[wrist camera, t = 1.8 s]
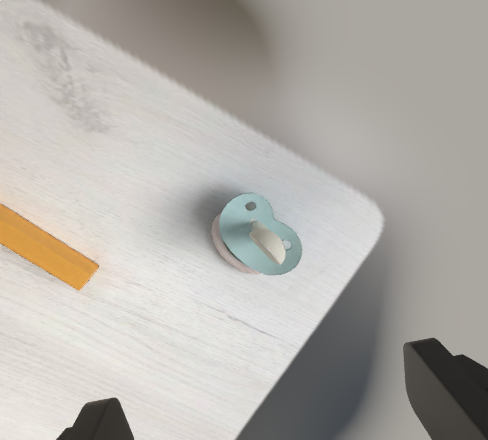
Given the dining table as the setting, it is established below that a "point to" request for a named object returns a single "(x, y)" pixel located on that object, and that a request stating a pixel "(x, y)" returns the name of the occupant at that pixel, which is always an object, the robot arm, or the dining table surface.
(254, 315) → the dining table surface
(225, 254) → the pacifier
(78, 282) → the wooden stick
